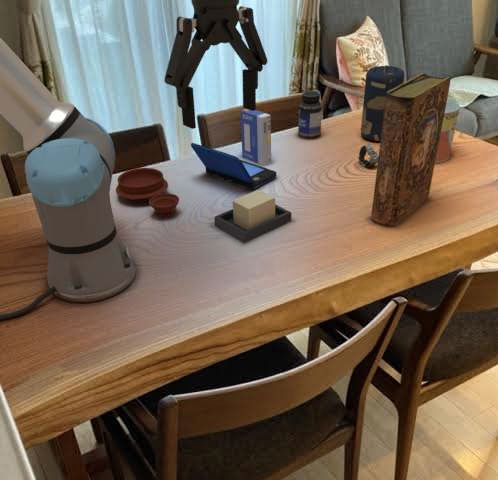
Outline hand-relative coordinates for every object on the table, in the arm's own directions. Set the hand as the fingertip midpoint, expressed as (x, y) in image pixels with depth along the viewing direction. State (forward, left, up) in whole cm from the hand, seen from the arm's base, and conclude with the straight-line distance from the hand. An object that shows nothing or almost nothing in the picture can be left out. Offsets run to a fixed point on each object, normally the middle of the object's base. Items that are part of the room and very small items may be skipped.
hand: (220, 117), depth 96 cm
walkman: (+27, +22, -23) cm, 41 cm away
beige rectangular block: (+5, -2, -22) cm, 22 cm away
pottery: (-5, +21, -23) cm, 31 cm away
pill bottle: (+48, +24, -23) cm, 58 cm away
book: (+31, -19, -23) cm, 43 cm away
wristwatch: (+44, 0, -23) cm, 49 cm away
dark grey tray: (+5, -2, -22) cm, 23 cm away
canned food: (+59, -6, -23) cm, 63 cm away
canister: (+60, +10, -23) cm, 65 cm away
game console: (+16, +17, -23) cm, 32 cm away
